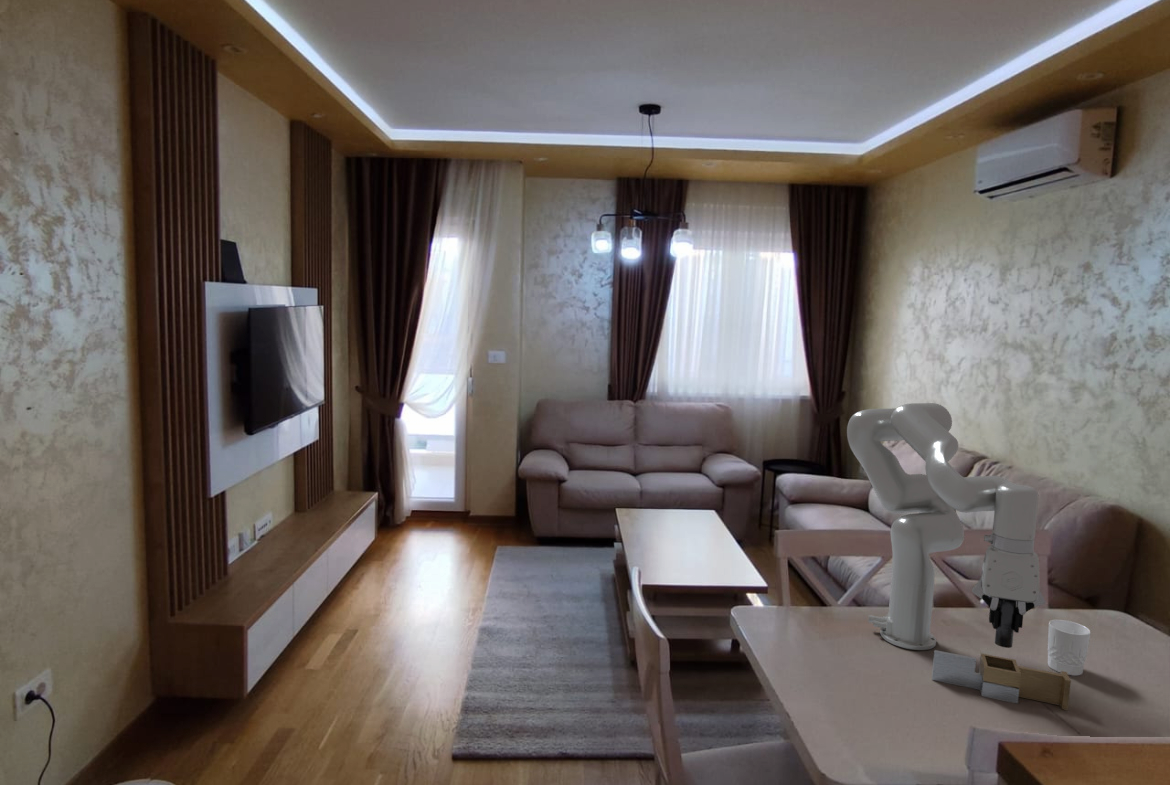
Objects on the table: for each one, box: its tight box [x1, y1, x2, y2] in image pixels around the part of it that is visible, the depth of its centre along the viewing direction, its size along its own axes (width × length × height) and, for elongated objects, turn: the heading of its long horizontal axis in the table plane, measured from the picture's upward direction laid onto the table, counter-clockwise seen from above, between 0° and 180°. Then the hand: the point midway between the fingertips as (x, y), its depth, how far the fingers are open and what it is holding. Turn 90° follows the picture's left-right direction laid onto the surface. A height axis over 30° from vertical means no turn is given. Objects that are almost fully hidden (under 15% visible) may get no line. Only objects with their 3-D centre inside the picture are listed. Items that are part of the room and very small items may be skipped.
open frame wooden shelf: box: [979, 653, 1072, 711], centre depth 149 cm, size 16×7×6 cm, turn 67°
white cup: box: [1047, 619, 1091, 676], centre depth 162 cm, size 8×8×10 cm
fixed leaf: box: [931, 649, 1020, 704], centre depth 152 cm, size 16×7×6 cm, turn 67°
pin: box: [994, 598, 1017, 649], centre depth 149 cm, size 3×3×11 cm
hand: (1004, 627), depth 149 cm, fingers closed on pin, 3 cm apart
